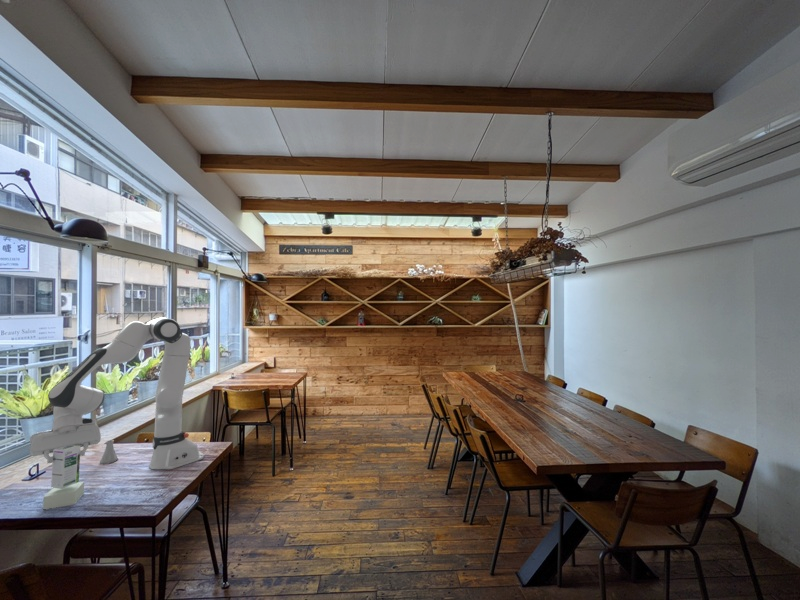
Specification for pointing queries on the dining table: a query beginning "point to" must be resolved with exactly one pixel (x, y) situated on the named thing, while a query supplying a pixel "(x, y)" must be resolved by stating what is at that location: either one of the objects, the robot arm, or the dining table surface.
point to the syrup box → (65, 466)
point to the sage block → (63, 496)
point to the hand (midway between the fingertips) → (66, 458)
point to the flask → (109, 453)
